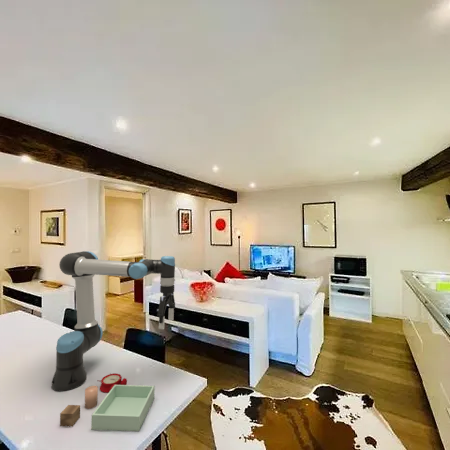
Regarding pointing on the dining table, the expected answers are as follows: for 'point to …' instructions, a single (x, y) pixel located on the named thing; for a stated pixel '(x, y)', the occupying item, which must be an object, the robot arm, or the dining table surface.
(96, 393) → the terracotta canister
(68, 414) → the walnut cube
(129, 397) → the tray
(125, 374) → the dining table surface
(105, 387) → the alarm clock
